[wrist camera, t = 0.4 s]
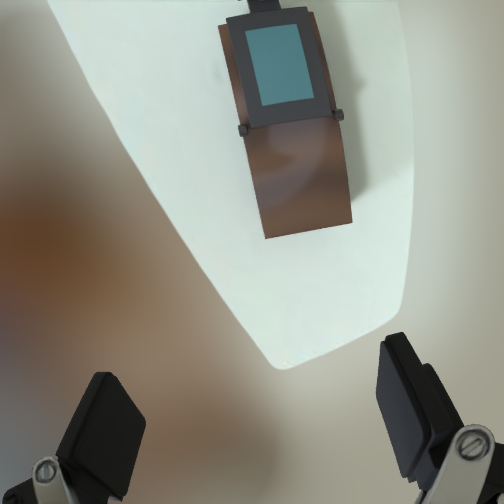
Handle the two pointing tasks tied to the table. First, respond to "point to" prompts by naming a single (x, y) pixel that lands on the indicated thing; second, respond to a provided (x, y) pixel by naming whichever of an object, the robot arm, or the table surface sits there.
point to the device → (278, 64)
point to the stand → (294, 161)
